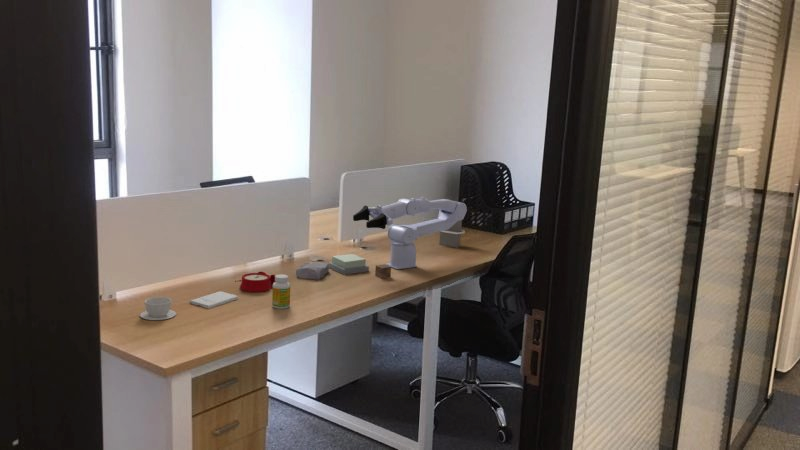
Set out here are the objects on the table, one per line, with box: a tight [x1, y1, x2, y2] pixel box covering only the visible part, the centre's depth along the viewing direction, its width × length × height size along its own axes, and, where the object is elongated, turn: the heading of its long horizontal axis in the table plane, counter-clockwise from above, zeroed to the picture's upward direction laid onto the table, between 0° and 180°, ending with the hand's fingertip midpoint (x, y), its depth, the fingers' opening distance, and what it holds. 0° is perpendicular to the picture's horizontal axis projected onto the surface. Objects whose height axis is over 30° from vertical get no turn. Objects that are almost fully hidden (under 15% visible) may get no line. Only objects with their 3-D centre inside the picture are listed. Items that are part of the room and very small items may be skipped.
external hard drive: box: [189, 290, 239, 309], centre depth 226 cm, size 2×8×12 cm
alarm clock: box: [234, 271, 277, 293], centre depth 243 cm, size 10×6×15 cm
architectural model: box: [439, 220, 466, 249], centre depth 317 cm, size 20×25×15 cm
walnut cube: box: [374, 263, 392, 279], centre depth 263 cm, size 4×4×4 cm
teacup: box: [139, 296, 177, 321], centre depth 211 cm, size 10×10×5 cm
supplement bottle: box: [271, 273, 291, 310], centre depth 224 cm, size 5×5×10 cm
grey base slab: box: [327, 261, 370, 275], centre depth 271 cm, size 11×11×2 cm
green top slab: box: [331, 253, 366, 269], centre depth 271 cm, size 9×9×2 cm
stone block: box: [295, 261, 330, 280], centre depth 262 cm, size 12×5×10 cm
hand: (360, 221), depth 262 cm, fingers open, 7 cm apart
